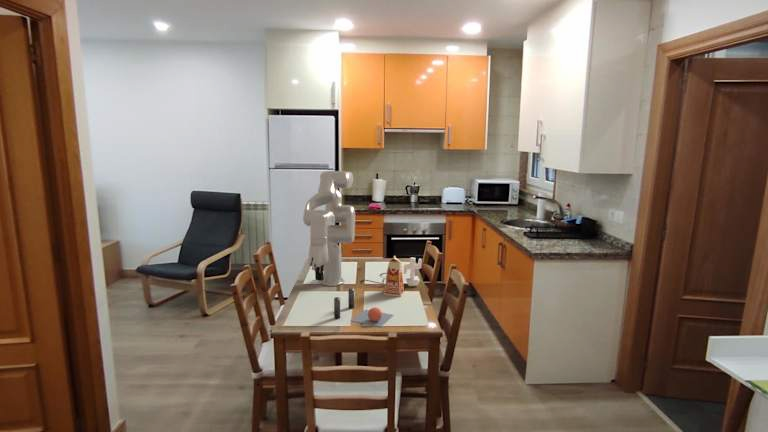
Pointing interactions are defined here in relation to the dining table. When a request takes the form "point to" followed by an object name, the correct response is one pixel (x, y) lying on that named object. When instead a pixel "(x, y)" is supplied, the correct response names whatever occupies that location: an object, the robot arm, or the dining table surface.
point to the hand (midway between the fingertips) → (319, 279)
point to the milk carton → (394, 278)
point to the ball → (374, 314)
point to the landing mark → (365, 319)
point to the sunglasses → (377, 282)
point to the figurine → (412, 272)
